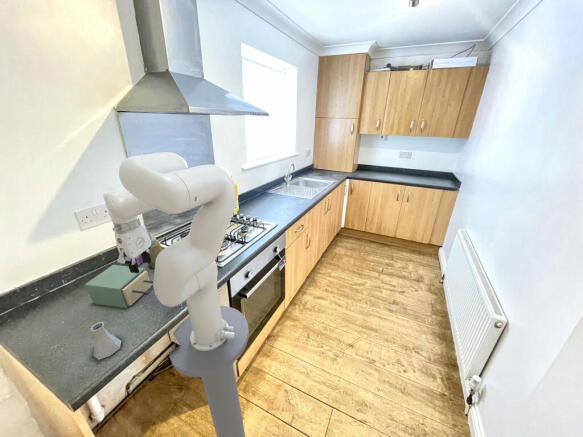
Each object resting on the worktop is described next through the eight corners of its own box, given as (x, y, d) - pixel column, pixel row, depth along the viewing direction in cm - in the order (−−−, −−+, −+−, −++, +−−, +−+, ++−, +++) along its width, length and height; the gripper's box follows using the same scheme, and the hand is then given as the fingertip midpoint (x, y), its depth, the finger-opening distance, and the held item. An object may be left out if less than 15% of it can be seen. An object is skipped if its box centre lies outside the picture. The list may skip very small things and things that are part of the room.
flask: (124, 348, 74) (114, 326, 70) (95, 364, 69) (83, 341, 65) (119, 334, 78) (109, 312, 74) (92, 348, 74) (80, 326, 70)
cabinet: (149, 286, 100) (143, 268, 96) (126, 308, 89) (118, 288, 85) (120, 282, 102) (113, 264, 98) (93, 303, 91) (84, 284, 87)
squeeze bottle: (150, 261, 117) (140, 229, 109) (167, 258, 119) (159, 227, 112) (146, 271, 110) (135, 237, 102) (165, 267, 112) (156, 235, 105)
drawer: (165, 287, 98) (161, 272, 95) (146, 308, 88) (140, 292, 85) (124, 282, 101) (118, 268, 98) (100, 301, 91) (93, 286, 88)
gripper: (116, 237, 72) (132, 283, 79) (154, 215, 87) (165, 255, 95) (95, 235, 73) (113, 281, 80) (136, 213, 88) (149, 254, 96)
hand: (141, 266), depth 87 cm, fingers open, 5 cm apart
